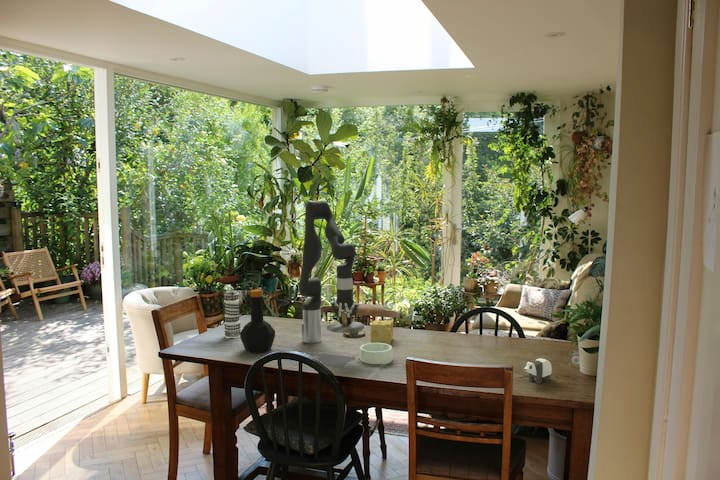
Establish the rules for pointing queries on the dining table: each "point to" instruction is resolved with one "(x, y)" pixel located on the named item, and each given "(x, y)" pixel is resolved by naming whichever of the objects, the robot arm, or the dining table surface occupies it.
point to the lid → (345, 326)
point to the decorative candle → (231, 314)
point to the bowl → (376, 353)
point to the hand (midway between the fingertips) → (345, 324)
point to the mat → (335, 360)
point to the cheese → (382, 331)
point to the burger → (354, 334)
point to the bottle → (257, 327)
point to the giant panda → (538, 370)
